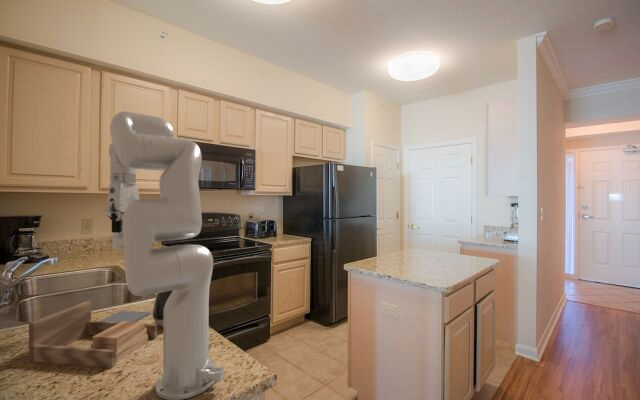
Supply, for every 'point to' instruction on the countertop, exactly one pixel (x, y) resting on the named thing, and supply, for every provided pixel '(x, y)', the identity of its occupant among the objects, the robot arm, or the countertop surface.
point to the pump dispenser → (160, 307)
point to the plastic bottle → (119, 235)
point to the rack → (72, 338)
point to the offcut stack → (122, 338)
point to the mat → (126, 316)
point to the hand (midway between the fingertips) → (123, 231)
